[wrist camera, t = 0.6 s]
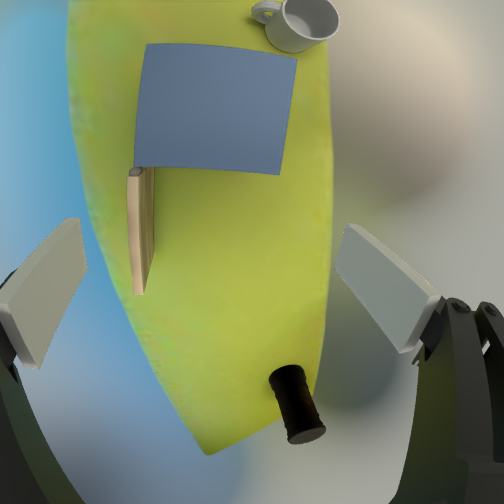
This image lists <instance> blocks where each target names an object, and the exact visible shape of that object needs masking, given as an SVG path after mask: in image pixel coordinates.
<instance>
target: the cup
mask: <svg viewBox="0 0 504 504" xmlns="http://www.w3.org/2000/svg"><path fill="white" fill-rule="evenodd" d="M266 11H271V12H274V13H273V14H272V15H271V16H269V15H267V14H265V13H264V12H266ZM251 13H252V17H253V18H254V19H255V20H256V21H258V22H260V23H263V24H266V26H265V32H266V36H267V38H268V40H269V41H270V42H271V44H272V45H273V46H275V47H276V48H277V49H280V50H282V51H284V52H289V53H297V52H302V51H304V50H306V49H308V48H310V47H312V46H314V45H316V44H318V43H320V42H322V41H324V40H326V39H329V38H330V37H333V36H334V35H335V34H336V33H337V32H338V30H339V28H340V21H341V20H340V15H339V13H338V10H337V8H336V7H335V6H334V5H333V3H332V2H331V1H329V0H284V1H283V2H282V3H280V2H276V1H271V0H264V1H260V2H258V3H257V4H255V5H254V6H253V7H252V9H251Z"/></svg>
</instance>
